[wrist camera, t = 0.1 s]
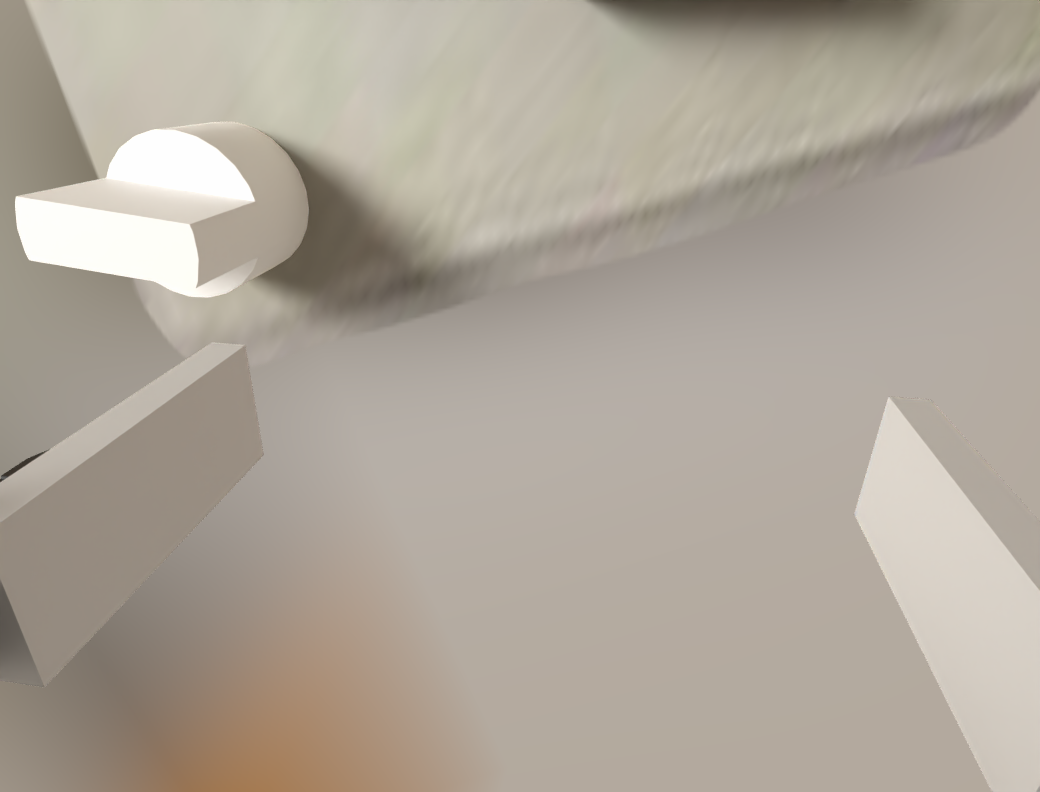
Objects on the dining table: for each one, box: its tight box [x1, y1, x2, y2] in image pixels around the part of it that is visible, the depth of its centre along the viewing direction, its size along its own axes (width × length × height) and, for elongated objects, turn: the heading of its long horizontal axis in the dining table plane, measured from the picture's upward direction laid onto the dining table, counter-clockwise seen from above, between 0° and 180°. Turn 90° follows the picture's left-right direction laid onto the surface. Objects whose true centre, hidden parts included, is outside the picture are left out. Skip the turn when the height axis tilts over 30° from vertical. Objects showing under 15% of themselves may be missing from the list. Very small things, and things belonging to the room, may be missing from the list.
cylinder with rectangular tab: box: [15, 122, 309, 297], centre depth 37 cm, size 9×9×12 cm
